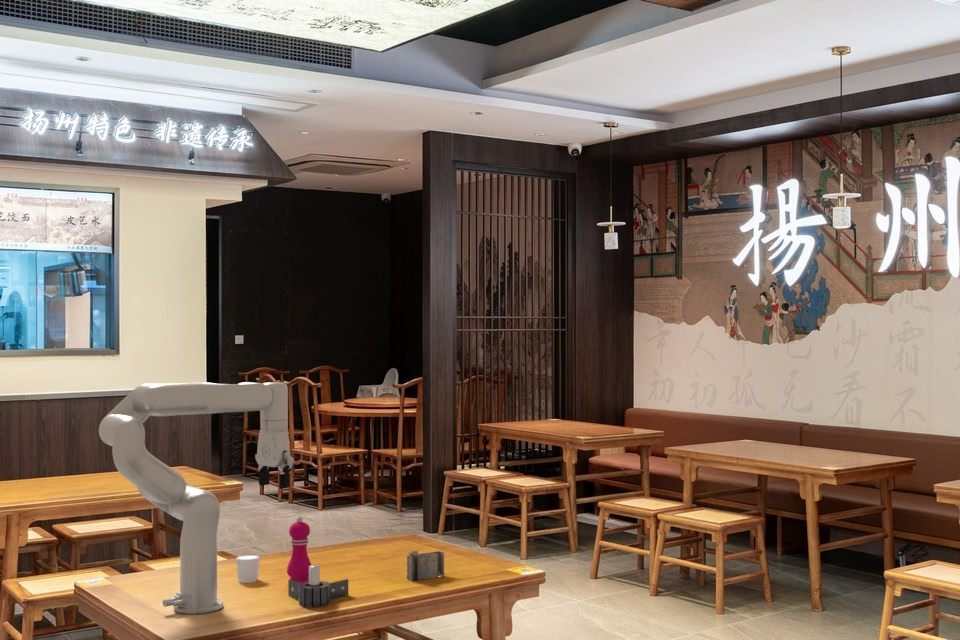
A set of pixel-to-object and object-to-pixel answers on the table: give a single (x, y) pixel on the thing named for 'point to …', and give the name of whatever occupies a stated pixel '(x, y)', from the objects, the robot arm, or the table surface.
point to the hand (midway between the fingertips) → (274, 486)
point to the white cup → (248, 568)
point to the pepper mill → (299, 552)
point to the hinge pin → (314, 575)
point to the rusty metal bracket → (425, 565)
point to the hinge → (317, 592)
